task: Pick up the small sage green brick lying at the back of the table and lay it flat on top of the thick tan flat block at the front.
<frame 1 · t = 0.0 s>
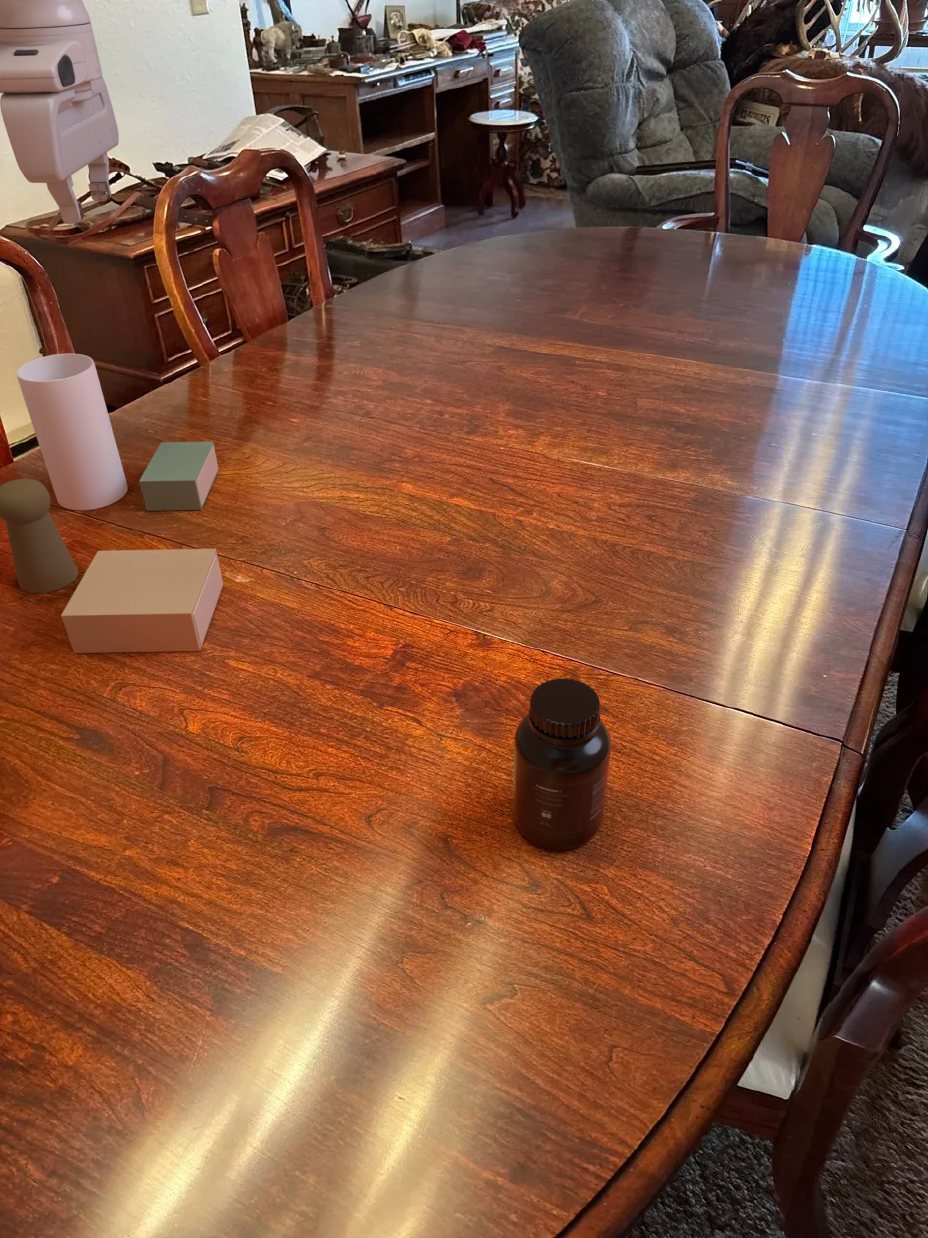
hand: (88, 210, 98), 31 cm above the table, tool pointing down, fingers open, 8 cm apart
cup: (93, 494, 112), on the table
tan flat block: (152, 617, 92), on the table
sage green brick: (184, 489, 112), on the table
olive pawn piece: (49, 578, 98), on the table
supplement bottle: (557, 819, 70), on the table
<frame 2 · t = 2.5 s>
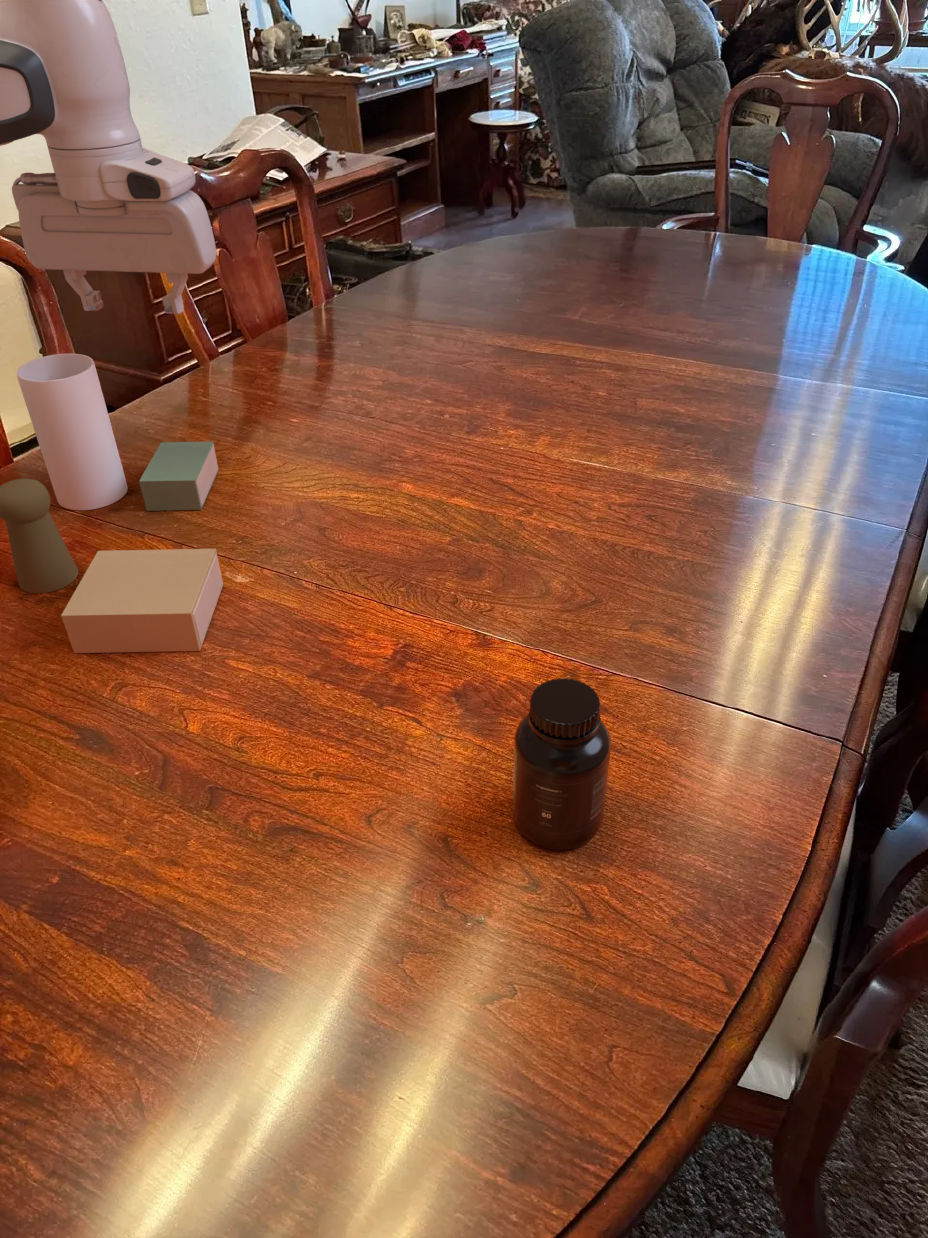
hand: (134, 310, 101), 21 cm above the table, tool pointing down, fingers open, 8 cm apart
nothing on the table moved.
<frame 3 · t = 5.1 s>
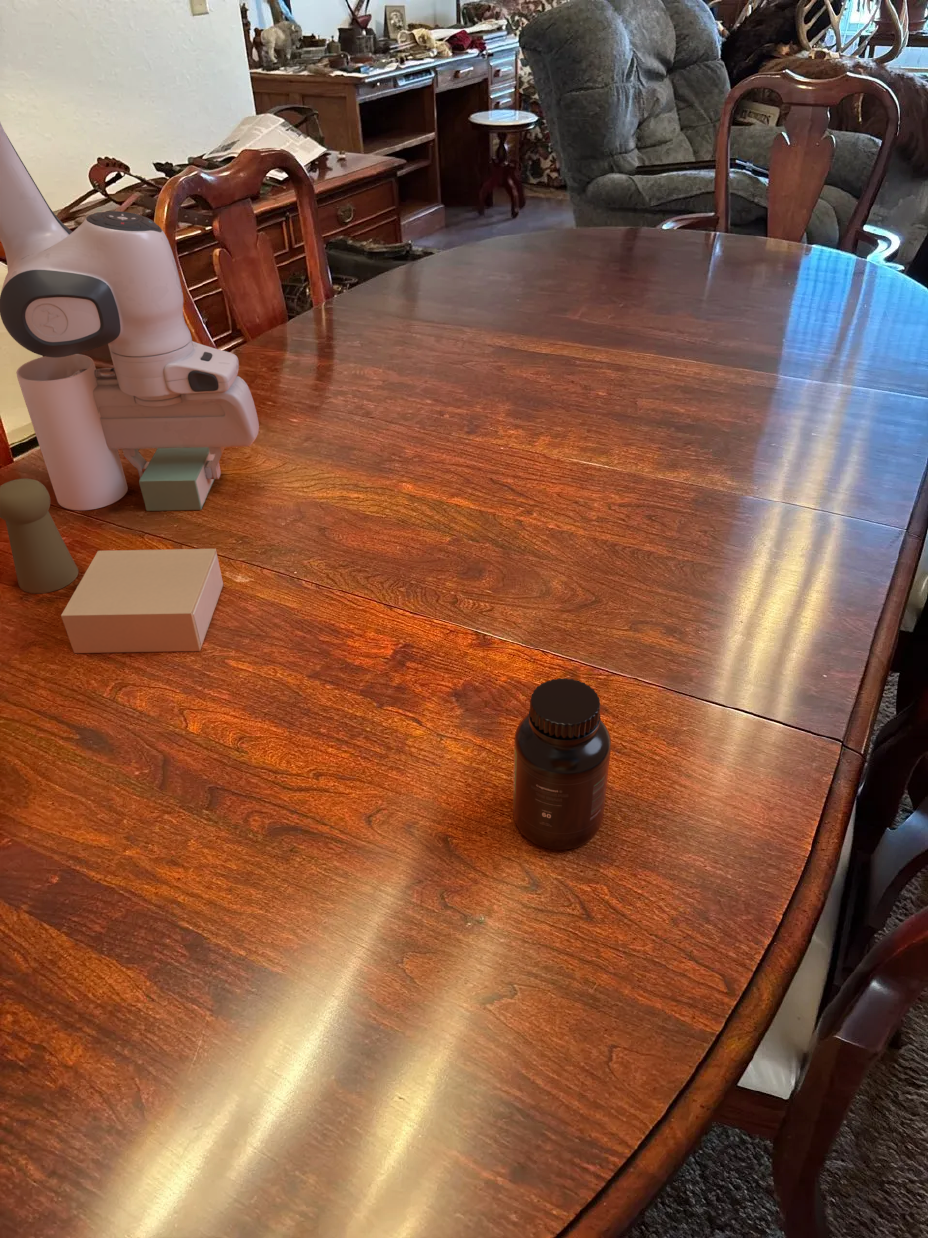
hand: (181, 477, 111), 2 cm above the table, tool pointing down, fingers closed on sage green brick, 6 cm apart
sage green brick: (183, 489, 112), on the table, touching gripper
everything else where it was.
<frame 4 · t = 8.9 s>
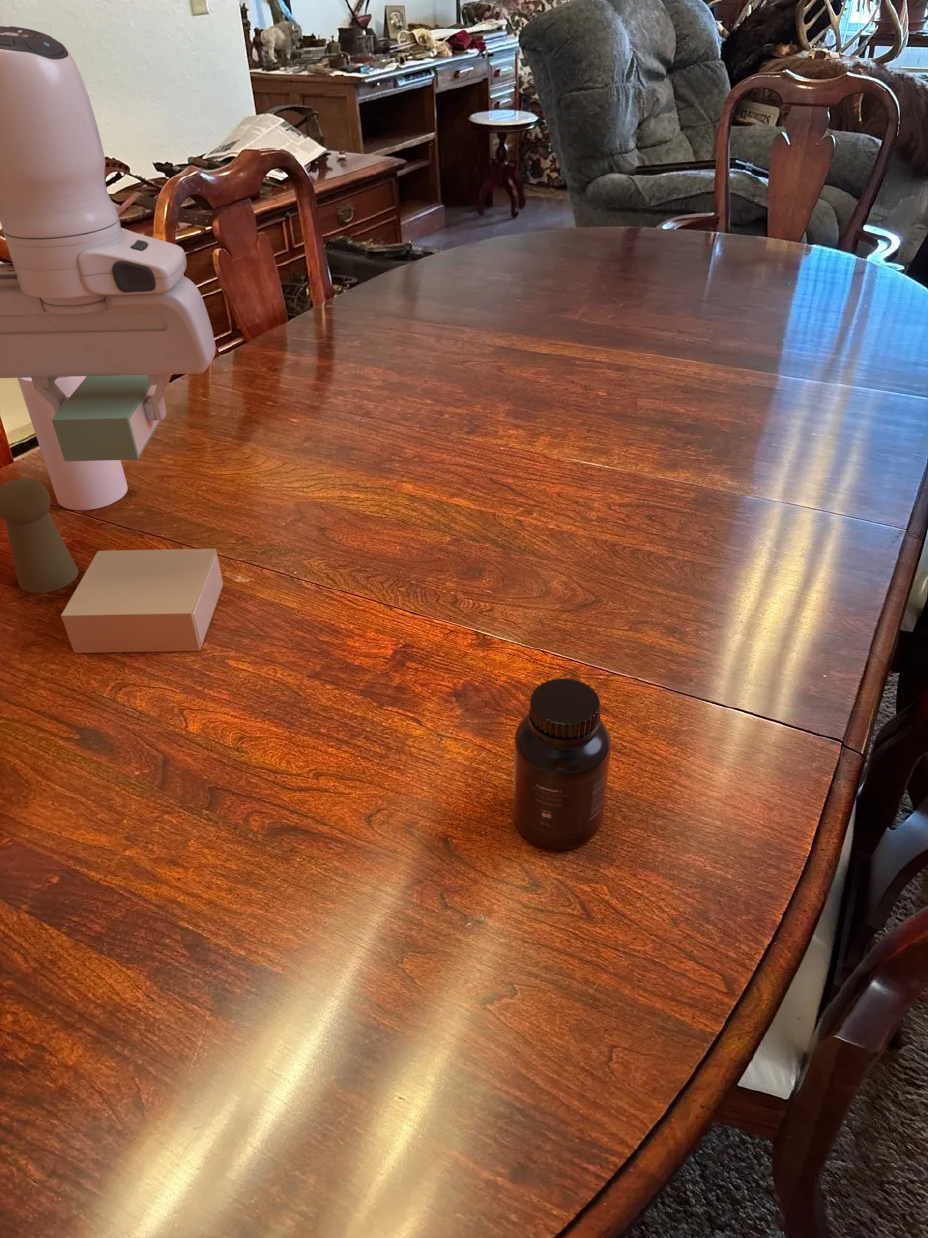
hand: (113, 418, 84), 19 cm above the table, tool pointing down, fingers closed on sage green brick, 6 cm apart
sage green brick: (117, 435, 85), point 18 cm above the table, touching gripper
everything else where it was.
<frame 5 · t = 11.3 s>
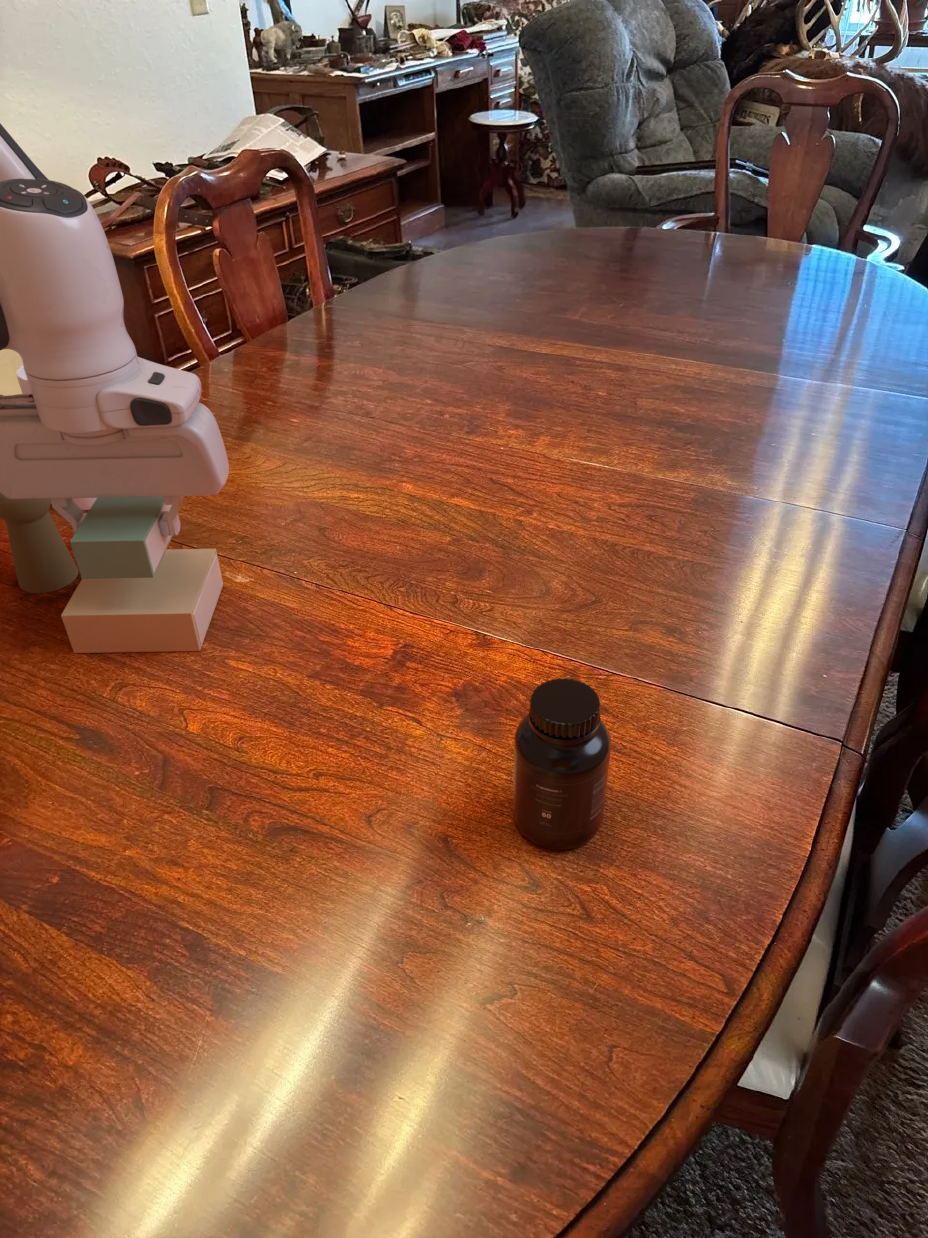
hand: (129, 533, 86), 10 cm above the table, tool pointing down, fingers closed on sage green brick, 6 cm apart
sage green brick: (133, 548, 87), point 8 cm above the table, touching gripper
everything else where it was.
when the fingers open (6 cm above the table, at t = 12.9 s): sage green brick stays where it is, resting on tan flat block.
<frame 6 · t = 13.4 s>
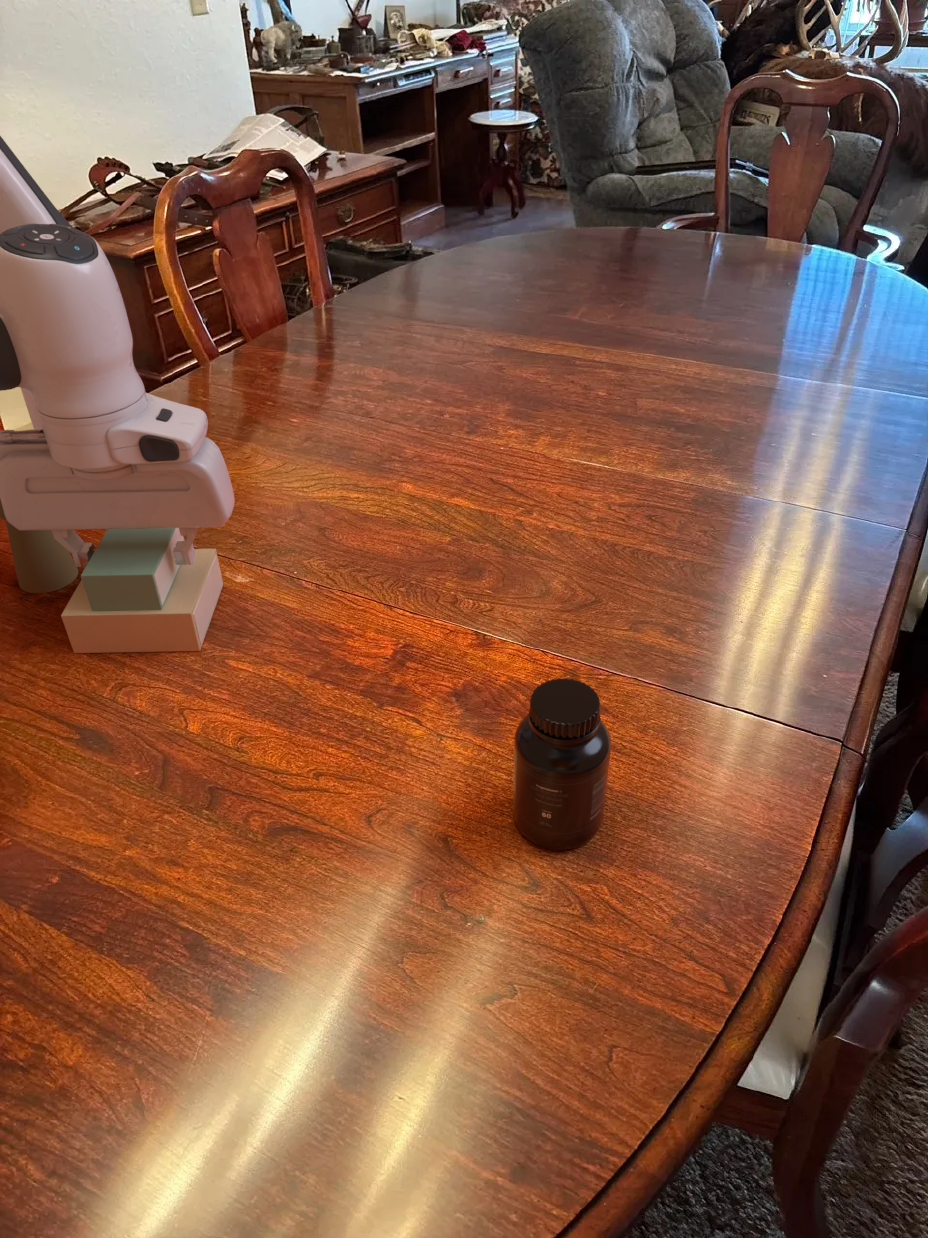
hand: (136, 562, 88), 7 cm above the table, tool pointing down, fingers open, 8 cm apart
tan flat block: (152, 617, 92), on the table, touching sage green brick
sage green brick: (141, 579, 89), point 5 cm above the table, touching tan flat block
everything else where it was.
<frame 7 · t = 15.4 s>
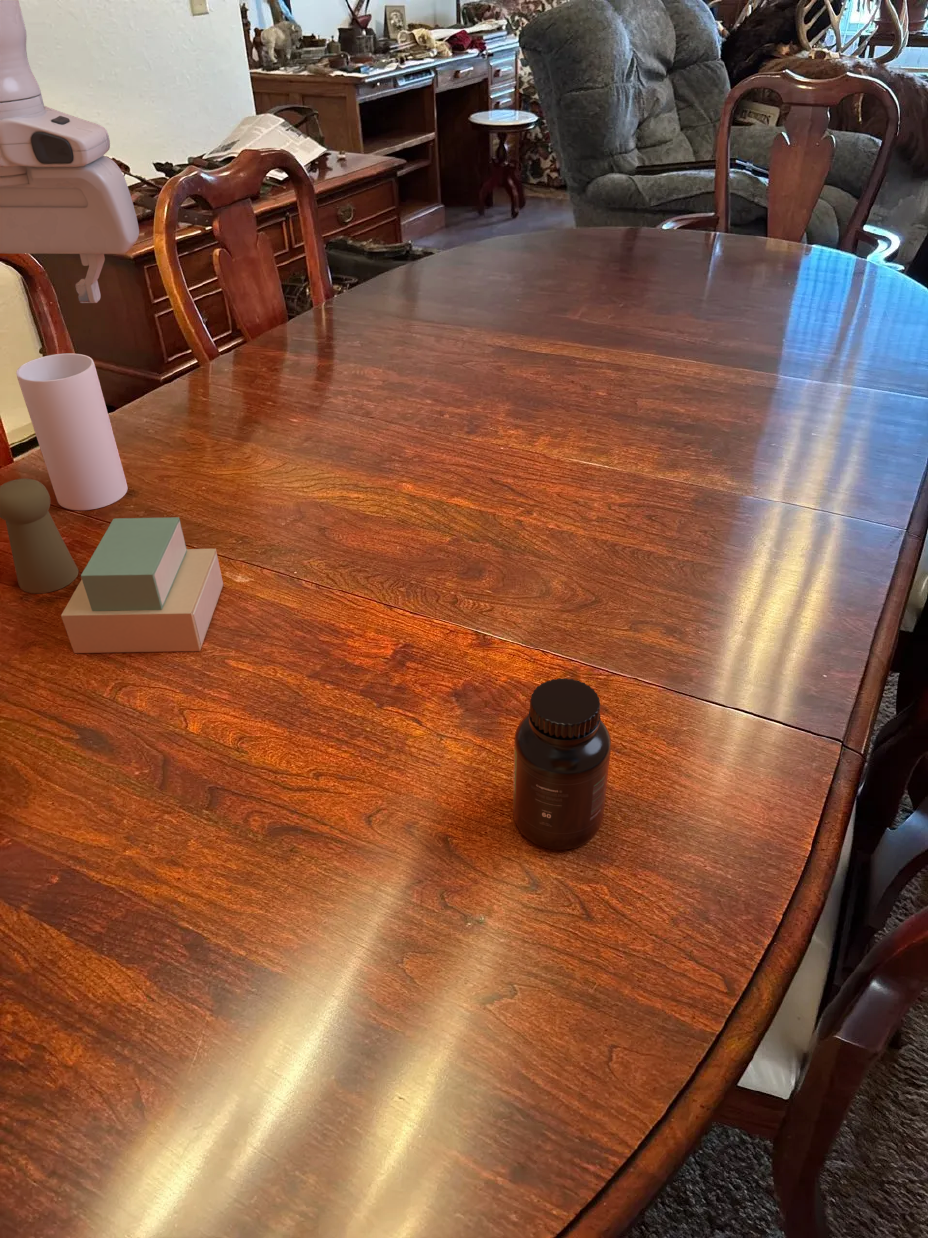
hand: (40, 300, 86), 27 cm above the table, tool pointing down, fingers open, 8 cm apart
nothing on the table moved.
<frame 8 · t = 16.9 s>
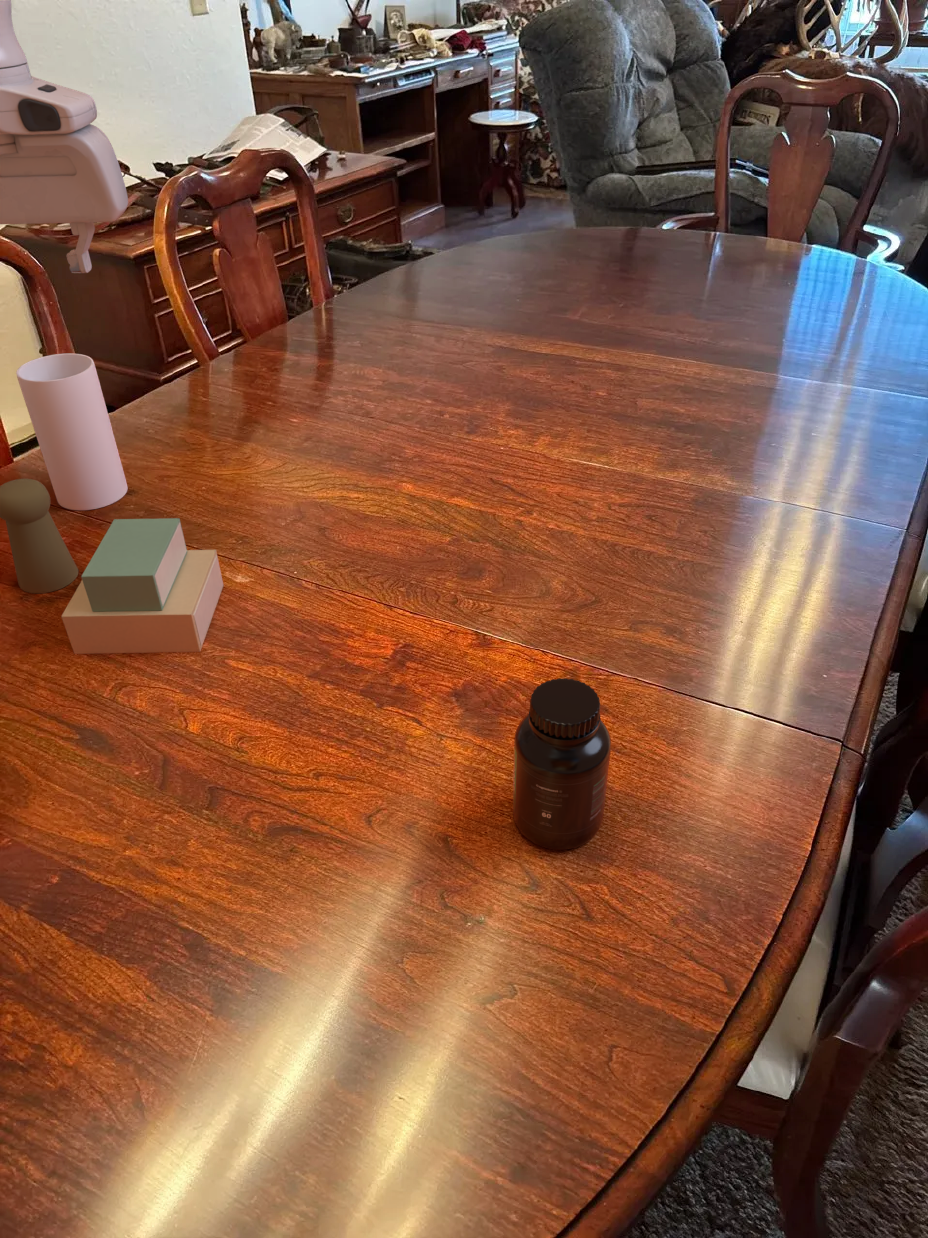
hand: (31, 272, 86), 29 cm above the table, tool pointing down, fingers open, 8 cm apart
tan flat block: (152, 618, 92), on the table
sage green brick: (142, 580, 89), point 4 cm above the table
everything else where it was.
at the end: sage green brick inside the target area on the tan flat block (0.1 cm from its centre), point 4.5 cm above the tan flat block's base; sage green brick tilted 0°; tan flat block moved 0.0 cm from its start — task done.
